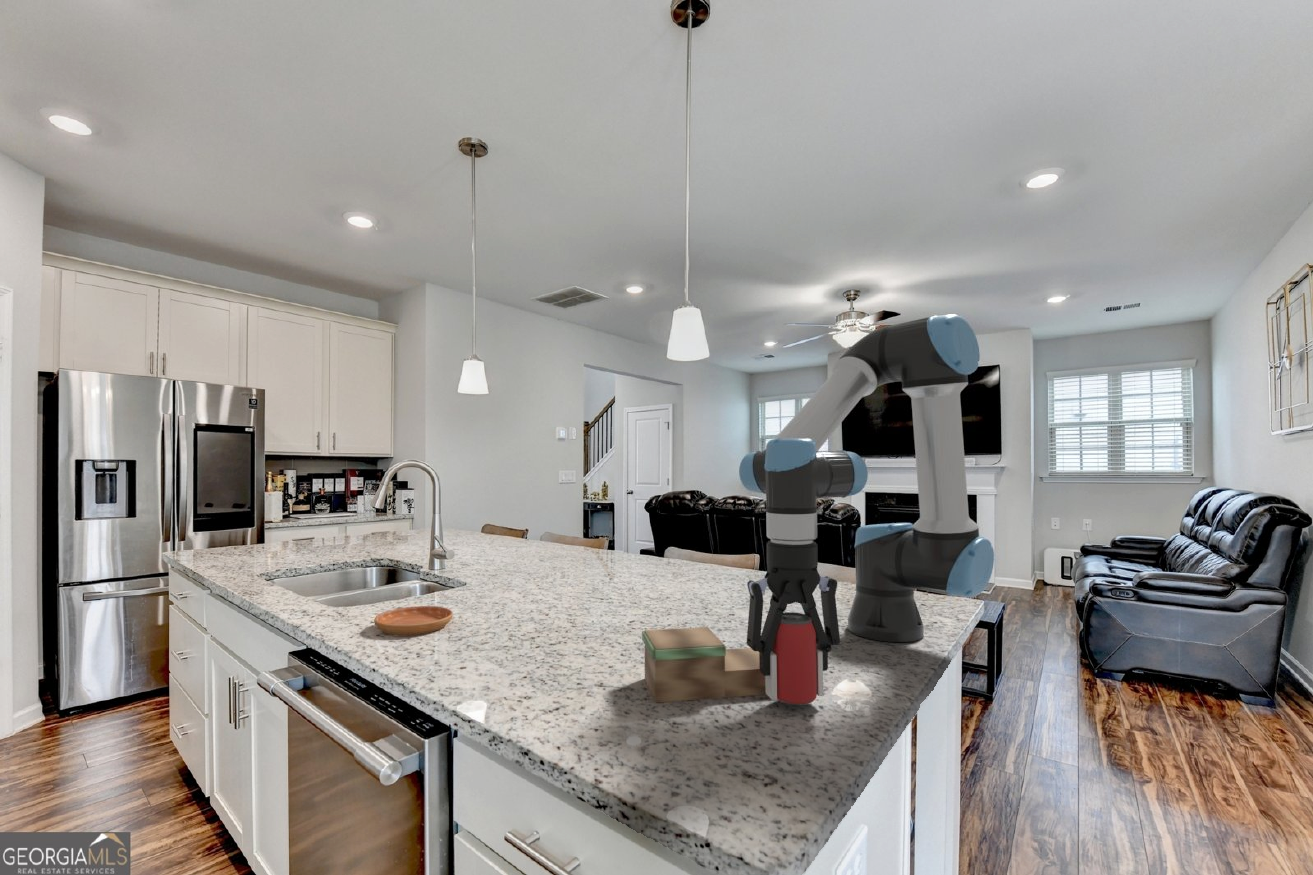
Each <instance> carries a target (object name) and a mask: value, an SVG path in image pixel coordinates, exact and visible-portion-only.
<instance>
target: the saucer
mask: <svg viewBox="0 0 1313 875" xmlns="http://www.w3.org/2000/svg"><path fill="white" fill-rule="evenodd" d="M453 612H454V611H452V610H451V609H449V608H446V607H443V606H436V605H435V606H434V605H433V606H432V605H430V606H429V605H428V606H427V605H426V606H425V605H424V606H422V605H421V606H408V607H399V608H394V609H391V610H388V611H387V610H386V611H384V612H382V613H379V614H378V615H376V616H375V617H374V619H373V620H374V625H375V627H376V628H378V629H379V630H380V631H381V632H382V633H384V634H386V635H389V636H398V637H406V636H407V637H408V636H409V637H410V636H418V635H425V634H428V633H429V634H430V633H433V632H437V631H440V630H441V629H443V628H444V627H445V626H446V625H447V624H449V622H450V621H451V620H452V618H453V615H454V614H453Z"/></svg>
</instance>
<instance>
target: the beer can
mask: <svg viewBox="0 0 1313 875" xmlns="http://www.w3.org/2000/svg"><path fill="white" fill-rule="evenodd" d="M772 652H773V653H775V654H776V658H777V701H779V702H782V703H783V704H787V705H794V706H803V705H804V706H805V705H808V704H811V703H813V702H814V701H816V700H817V696H818V695H817V673H816V632H815V628H814V625H813V623H812V619H811V618H810V617H808V616H807V615H805V614H804V613H802V612H793V611H791V612H789V611H787V612H785V611H784V612H783V615H782V619H781V622H780V625H779V628H778V632H777V635H776V638H775V641H774V645H773V648H772Z"/></svg>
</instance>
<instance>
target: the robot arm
mask: <svg viewBox="0 0 1313 875" xmlns="http://www.w3.org/2000/svg"><path fill="white" fill-rule="evenodd" d="M980 355H981V354H980V345H979V342H978V338H977V336H976V332H974V330H973V328H972V326H971V325H970V324H969V322H968V321H967V320H966V319H965V318H963V317H962V316H960V315H957V314H953V313H952V314H950V313H949V314H944V315H934V316H933V315H932V316H929V317H925V318H920V319H919V318H918V319H915V320H911V321H910V320H909V321H905V322H902V323H901V322H900V323H897V324H896V323H895V324H891V325H885V326H882V327H880V328H879V327H878V328H876V329H875V330H873V331H871V332H870V333H867V334H866V335H865V336H863V337H862V338H860V339H859V340H858V341H857V342H855V343H854V344H853V345H851V346H850V348H848V349H847V350H846V351H845V352H844V353H843V354H842V355H841V356H840V357H839V358H838V360H837V361H836V362H835V363H834V365H833V367H832V374H831V375H829V377H828V378H827V379H826V380H825V382H823V384H822V385H821V386H820V387H819V388H818V389H817V390H816V391H815V393H814V394H813V395H812V396H811V397H810V398H809V399H808V401H807V402H806V403H805V404H804V405H803V406H802V407H801V409H800V410H799V411H798V412H797V413H796V414H795V416H793V417H792V419H791V420H790V421H789V422H788V423H787V425H786V426H784V428H783V429H782V430H781V431H780V432H779V433H778V435H777V436H776V437H775V438H774V439H770V440H769V441H768V442H767V443H766V444H765V445H766V446H765V449H764V450H762V451H761V450H757V451H753V452H749V453H747V454H745V455H744V456H743V458H742V459H741V461H740V464H739V467H738V468H739V469H738V476H739V478H740V482H741V484H742V485H743V487H744V488H746V490H748V491H750V492H753V493H759V494H763V495H765V504H766V508H765V509H766V512H765V513H766V514H765V516H766V520H765V521H766V522H765V523H766V525H765V526H766V537H767V539H770V540H768V541H767V542H766V568H767V569H766V573H765V575H764V578H761V579H759V580H755V581H754V580H749V581H747V588H748V593H749V607H748V617H747V618H748V619H747V622H748V623H747V633H746V645H747V647H748V648H751V649H752V650H754V651H758V652H759V662H760V663H759V665H760V666H759V668H760V672H761V673H762V674H763V675H764V676H765V687H766V694H765V695H766V696H768V697H769V699H771V701H778V699H777V658H776V654H775V653H773V652H772V648H773V645H774V641H775V638H776V635H777V632H778V628H779V625H780V622H781V619H782V615H783V613H785V611H786V610H787V607H788V605H791V604H795V603H797V604H800V606H801V608H802V610H803V614H805V615H807V616H808V617H810V618H811V619H812V623H813V625H814V628H815V632H816V673H817V696H819V697H821V696H822V697H823V696H824V672H827V671H828V667H829V656H828V654H829V653H830V652H831V651H832V647H833V646H838V645H840V643H841V639H840V628H839V618H838V611H837V609H838V608H837V601H836V600H837V599H836V593H837V592H836V591H837V588H838V581H837V580H836V579H834V578H832V577H829V576H821V575H820V573H819V572H818V564H819V561H818V560H819V559H818V558H819V555H818V553H819V552H818V543H816V541H814V540H816V539H817V538H818V514H817V513H818V512H817V510H818V508H817V503H818V502H817V500H819V499H828V498H829V499H831V498H842V499H844V498H846V497H850V496H851V497H852V496H855V495H857V494H859V493H860V492H861V491H862V490H863V489H864V488H865V487H866V484H867V482H868V479H869V476H868V475H869V474H868V467H867V464H866V462H865V460H864V459H863V458H862V457H861V456H860V455H859V454H857V453H856V452H854V451H853V452H852V451H846V450H843V449H842V450H825V451H822V450H820V449H821V448H822V447H823V445H825V443H826V442H827V440H829V438H830V437H831V436H832V434H834V432H835V431H836V430H837V428H838V427H840V425H841V424H842V422H843V421H844V420H845V418H846V417H847V416H848V415H849V414H850V412H851V411H852V410H853V409H854V408H855V407H856V405H857V404H858V403H859V401H860V400H861V399H862V398H864V397H867V396H870V395H871V394H873V393H874V392H875V390H876V389H877V388H878V387H879V386H883V385H885V384H890V383H895V382H896V383H897V382H898V383H899V382H901V390H902V391H903V392H904V393H905V394H907V396H909V398H910V399H911V409H912V410H911V411H912V412H911V413H912V424H913V425H912V426H913V440H914V450H915V451H914V452H915V466H916V480H917V492H918V494H917V495H918V504H919V505H918V506H919V518H918V520H916V522H914V523H911V522H896V523H895V522H891V523H880V524H879V523H877V524H868V525H862V526H860V527H858V528H857V529H856V531H855V542H854V550H855V551H854V552H855V553H854V554H855V595H854V598H853V602H852V605H851V607H850V611H849V614H848V617H847V629H848V631H849V632H850V633H851V634H854V635H856V636H858V637H861V638H865V639H870V640H874V641H875V640H876V641H880V642H891V643H894V642H895V643H905V642H906V643H910V642H915V641H919V640H921V639H923V638H924V635H925V634H924V632H925V631H924V629H925V628H924V623H923V620H922V617H921V614H920V611H919V608H918V605H917V602H916V600H915V591H914V590H915V589H916V590H921V591H926V592H932V593H937V594H942V595H947V596H949V597H961V598H966V599H968V598H969V599H970V598H971V599H972V598H975V597H978V596H979V595H980V594H982V593H983V592H984V590H985V589H986V587H987V585H988V583H989V581H990V579H991V577H992V574H993V570H994V562H995V552H994V547H993V545H992V543H991V540H989V539H988V538H985V537H983V536H980V533H979V532H980V530H979V528H980V527H979V525H978V523H976V522H975V521H974V520H973V519H971V518H970V514H969V501H968V486H967V474H966V460H965V458H966V457H965V449H964V448H965V446H964V433H963V432H964V431H963V421H962V420H963V419H962V406H961V405H962V404H961V392H962V391H963V390H964V389H965V388H966V387H967V386H968V385H969V379H968V377H969V376H968V375H971V374H972V373H974V372H975V371H977V369H978V367H979V362H980V359H981V358H980V357H981V356H980ZM817 587H818V589H819V590H820V600H821V609H822V619H823V624H822V621H821V618H820V616H819V613H818V609H817V602H816V600H815V597H814V595H813V593H815V590H816V589H817ZM767 588H768V589H769V590H770V592H771V597H770V600H769V608H768V612H767V615H766V618H765V621H764V625H763V624H762V623H763V612H764V595H765V594H766V589H767ZM762 625H763V628H762Z"/></svg>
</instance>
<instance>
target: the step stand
mask: <svg viewBox="0 0 1313 875" xmlns="http://www.w3.org/2000/svg"><path fill="white" fill-rule="evenodd" d="M641 640H642V642H643V644H644V680H645V682H646V685H647V687H648V689H649V691H650V693H651V696H652V698H653V701H654V702H655V703H669V702H683V701H696V700H707V699H720V698H721V699H723V698H733V697H734V698H735V697H748V696H759V695H767V694H766V687H765V676H764V675H763V674H762V673H761V672H760V668H759V666H760V665H759V663H760V662H759V652H758V651H754V650H752V649H751V648H750V647H745V648H744V647H743V648H728V649H727V647H726V645H725V643H723V642H722V641H721V640H720V639H719V637H717V635H716V634H715V633H714V632H713V631H712V630H711V629H710V628H709V627H708V626H703V627H686V628H685V627H684V628H683V627H681V628H666V629H646V630H641Z"/></svg>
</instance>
